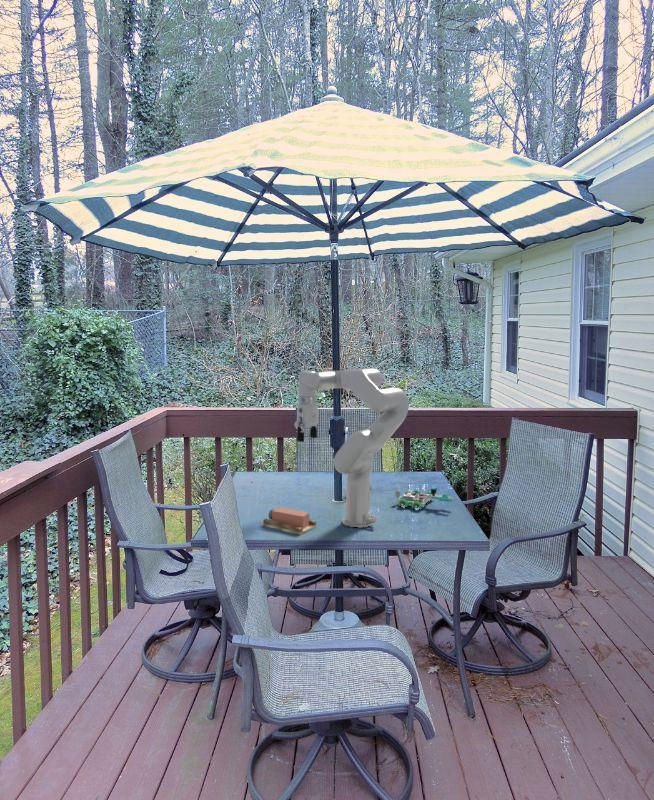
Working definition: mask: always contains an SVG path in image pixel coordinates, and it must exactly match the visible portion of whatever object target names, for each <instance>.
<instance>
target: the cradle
mask: <svg viewBox="0 0 654 800" xmlns="http://www.w3.org/2000/svg"><path fill="white" fill-rule="evenodd" d="M262 521H263V522H262V523H263V524H262V525H263V526H264V527H267V528H269V529H270V528H271V529H274V528H275V529H274V530H278V531H283V532H285V533H289V532H290V533H291V534H293V533H295V534H294V535H297V534H299V535H298V536H302V535H303V534H302V533H304V534H306V533H307V532H306V531H308V530H310V529H312V528H314V527H315V528H317V520H314V519H310V518H309V526H307V527H305V528H304V529H303V528H301V527H297V526H293V525H289V524H285V523H281V522H277V521H273V520H271V519H269V518H264V519H263V520H262ZM315 528H314V529H315ZM312 530H313V529H312ZM310 531H311V530H310ZM305 532H306V533H305ZM308 532H309V531H308ZM301 534H302V535H301Z"/></svg>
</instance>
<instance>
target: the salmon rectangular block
mask: <svg viewBox="0 0 654 800" xmlns="http://www.w3.org/2000/svg"><path fill="white" fill-rule="evenodd" d="M268 519H269V520H273V521H277V522H281V523H285V524H289V525H293V526H297V527H301V528H303V529H304V528H305V527H307V526H309V519H310V512H306V511H300V510H296V509H290V508H284V507H277V508H275V509H270V510H269V512H268Z"/></svg>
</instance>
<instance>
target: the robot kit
mask: <svg viewBox="0 0 654 800" xmlns="http://www.w3.org/2000/svg"><path fill="white" fill-rule="evenodd" d="M437 490H438V489H437V486H432V487H431V488H430V491H427V492H425V493H423V492H420V491H419V489H414V490H412V491H410V490H407V491H406V492H405V493H404V494H403V495H401V490H400V489H397V490H396V491H395V494H394V495H395V498H397V499H396V503H397V504H398V507H399V506H402V505H403V506H404V505H405V507H407V508H408V507H409V506H412V507H411V509H413V508H418V507H419V509H420V510H422V508H424V507H425V506H426V505H427V504H428V503H429V502H431V501H430V500H431V499H433V500H439V501H440V502H449V503H450V502H453V500H455V497H454V496H453V495H450V494H449V495H448V494H437ZM428 501H429V502H428ZM427 502H428V503H427ZM426 503H427V504H426ZM401 504H402V505H401ZM425 504H426V505H425ZM421 507H422V508H421Z"/></svg>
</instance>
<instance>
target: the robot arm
mask: <svg viewBox="0 0 654 800" xmlns="http://www.w3.org/2000/svg"><path fill="white" fill-rule="evenodd" d="M383 380H384V379H383V374H382V373H381V372H380V371H379V370H378V369H376V368H372V367H371V368H369V367H368V368H367V367H366V368H350V369H349V368H347V369H344V370H343V369H342V370H341V369H340V370H324V371H323V370H322V371H314V370H302V371H300V372H298V405H297V415H296V416H297V417H296V420H295V422H294V423H293V425H294V428H295V430H296V431H295V432H296V441H297V442H302V443H303V442H305V432H304V430H305V428H307V429H308V428H310V429H309V431H310V433H309V437H310V438H313V439H317V438H318V428H319V423H320V419H321V418H320V417H319V408H318V407H319V406H318V402H317V391H323V390H331V389H343V390H345V391H349V392H350V391H351V392H353V393H354V394H355V396H357V397H358V399H359V400H361V402H362V403H363V404H364V405H365V406H366V407H367V408H368V409H369V410H371V411H372V412H375V413H381V414H379V416H378V417H377V418H376V419H375V421H374V422H373V423H371V425H370V426H369V427H368V428H366V429H362V430H357V431H355V432H353V433H352V434H350V435H349V437H347V439H346V440H345V442H344V443H343V444H342V445H341V446H340V448H339V449H338V450H337V452H336V454H335V455H334V459H333V465H334V468H335V470H336V471H337V472H338V473H339V474H343V475H347V477H346V494H345V495H346V498H345V501H346V502H345V504H346V505H345V516H343V518H342V519H341V523H342V524H343V525H344V526H346V527H348V526H349V528H353V527H358V528H357V529H363V527H364V528H368V526H369V527H371V526H372V525H373V524H375V525H377V524H378V516H377V517H376V516H373V512H371V511H370V507H371V506H370V505H371V490H370V486H371V481H372V480H371V479H372V478H371V477H372V475H371V474H372V469H373V464H374V453H377V452H379V451H380V450H381V449H382V448H383V447H384V446H385V445H386V443H387V442H388V441H389V440H390V439H391V437H392V436H393V435H394V433H395V432H396V430H398V428H399V427H400V426H401V425H402V424H403V422H404V421H405V419H406V418H407V416H408V413H409V407H410V405H409V403H410V402H409V399H408V398H409V397H408V396H407V394H406V392H405V391H404V390H403V389H401V388H399V387H387V388H381V389H379V388H380V387H381V385H382V383H383Z"/></svg>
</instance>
